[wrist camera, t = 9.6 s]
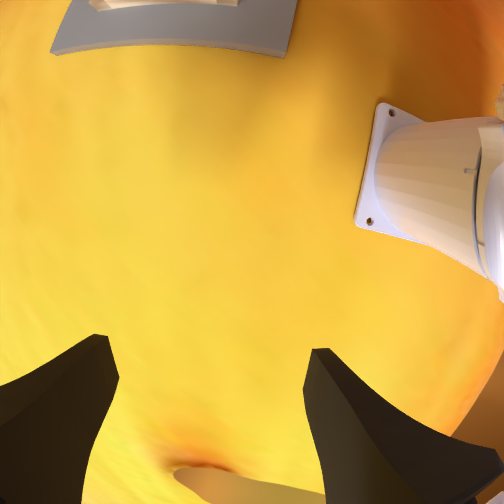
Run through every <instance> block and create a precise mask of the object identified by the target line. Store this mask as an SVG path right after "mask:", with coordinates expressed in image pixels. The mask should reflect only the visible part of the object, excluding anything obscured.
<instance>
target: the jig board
mask: <svg viewBox="0 0 504 504" xmlns="http://www.w3.org/2000/svg"><path fill="white" fill-rule="evenodd" d="M296 5H297V0H72V2H71V4H70V6H69V8H68V10H67V12H66V14H65V16H64V18H63V20H62V23H61V25H60V27H59V30H58V32H57V34H56V37H55V39H54V42H53V45H52V47H51V50H50V53H52V54H55V55H57V56H58V55H62V54H67V53H73V52H78V51H85V50H91V49H99V48H107V47H117V46H131V45H193V46H207V47H218V48H227V49H235V50H242V51H248V52H254V53H260V54H265V55H270V56H275V57H280V58H284V57H285V54H286V51H287V47H288V42H289V37H290V33H291V28H292V23H293V19H294V14H295V10H296Z"/></svg>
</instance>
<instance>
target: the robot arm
mask: <svg viewBox="0 0 504 504" xmlns="http://www.w3.org/2000/svg"><path fill="white" fill-rule="evenodd" d="M494 104H495V107H496V110H497V113H498V116H485V117H472V118H461V119H451V120H443V121H435V122H425V121H423V120H421V119H419V118H417V117H415V116H413V115H411V114H409V113H407V112H405V111H403V110H401V109H399V108H396V107H394V106H392V105H390V104H387V103H384V102H383V103H379V104H378V105H377V107H376V111H375V118H374V124H373V130H372V136H371V141H370V147H369V152H368V157H367V162H366V167H365V172H364V176H363V181H362V185H361V190H360V194H359V198H358V202H357V206H356V210H355V214H354V223H355V224H356V225H357V226H358V227H360V228H364V229H368V230H372V231H376V232H380V233H384V234H388V235H391V236H395V237H399V238H403V239H407V240H410V241H414V242H418V243H421V244H425V245H428V246H431V247H433V248H435V249H437V250H439V251H440V252H442V253H444V254H446V255H448V256H449V257H451V258H453V259H455V260H456V261H458V262H460V263H462V264H463V265H465V266H467V267H469V268H470V269H472V270H474V271H475V272H477V273H478V274H480V275H482V276H483V277H485V278H487V279H488V280H490V281H492V282H493V283H494V284H495V285H496V286H497V288H498V291H499V300H500V301H502V302H503V303H504V84H503V85H502V88H501V90H500V93H499V97H498V98H496V99H495V101H494ZM389 110H391V111H392V113H393V116H392V117H391V116H390V115H389ZM368 218H371V223H370V224H368V225H367V223H366V221H367V219H368ZM118 380H119V374H118V371H117V368H116V364H115V361H114V357H113V354H112V350H111V346H110V343H109V339H108V336H104V335H98V334H93V335H91V336H89V337H87V338H86V339H84V340H82V341H81V342H79V343H77V344H76V345H74V346H73V347H71V348H70V349H68V350H67V351H65V352H63V353H62V354H60V355H59V356H57V357H56V358H54V359H52V360H51V361H49V362H47V363H46V364H44V365H42V366H40V367H39V368H37V369H35V370H34V371H32V372H30V373H28V374H26V375H24V376H22V377H20V378H18V379H16V380H14V381H12V382H9V383H7V384H4V385H2V386H0V504H81V501H82V491H83V485H84V479H85V474H86V469H87V465H88V461H89V457H90V453H91V450H92V447H93V444H94V441H95V439H96V437H97V434H98V432H99V430H100V428H101V425H102V423H103V421H104V419H105V416H106V414H107V412H108V409H109V407H110V405H111V403H112V400H113V398H114V394H115V391H116V388H117V384H118ZM303 395H304V403H305V409H306V415H307V418H308V422H309V425H310V429H311V433H312V436H313V440H314V443H315V446H316V450H317V453H318V457H319V460H320V465H321V469H322V474H323V481H324V488H325V496H326V504H477V500H476V498H475V496H476V495H478V494H479V493H480V492H481V491H483V490H484V489H485V488H486V487H488V486H489V485H490V484H491V483H492V482H494V481H495V480H496V479H497V478H498V477H499V476H500V475H501V474H502V473H503V472H504V463H503V462H502V460H501V458H500V457H499V455H498V454H497V452H496V450H495V449H491V448H487V447H482V446H478V445H474V444H469V443H466V442H463V441H460V440H457V439H454V438H452V437H449V436H447V435H444V434H442V433H439V432H437V431H435V430H433V429H431V428H429V427H427V426H425V425H423V424H421V423H420V422H418V421H416V420H414V419H413V418H411V417H409V416H408V415H406V414H405V413H403V412H402V411H400V410H399V409H397V408H396V407H394V406H393V405H391V404H390V403H389V402H388V401H386V400H385V399H384V398H382V397H381V396H380V395H379V394H377V393H376V392H375V391H374V390H373V389H371V388H370V387H369V386H368V385H367V384H366V383H365V382H364V381H362V380H361V379H360V378H359V377H358V376H357V375H356V374H355V373H354V372H353V371H352V370H351V369H350V368H349V367H348V366H347V365H346V364H345V363H344V362H343V361H342V360H341V359H340V358H339V357H338V356H337V355H336V354H335V353H334V352H333V351H332V350H330V349H329V348H320V349H312V352H311V357H310V361H309V365H308V370H307V374H306V378H305V382H304V386H303ZM486 504H504V491H502V492H500V493H499V494H498V495H497V496H496V497H494V498H493V499H491V500H490V501H489V502H487V503H486Z"/></svg>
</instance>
